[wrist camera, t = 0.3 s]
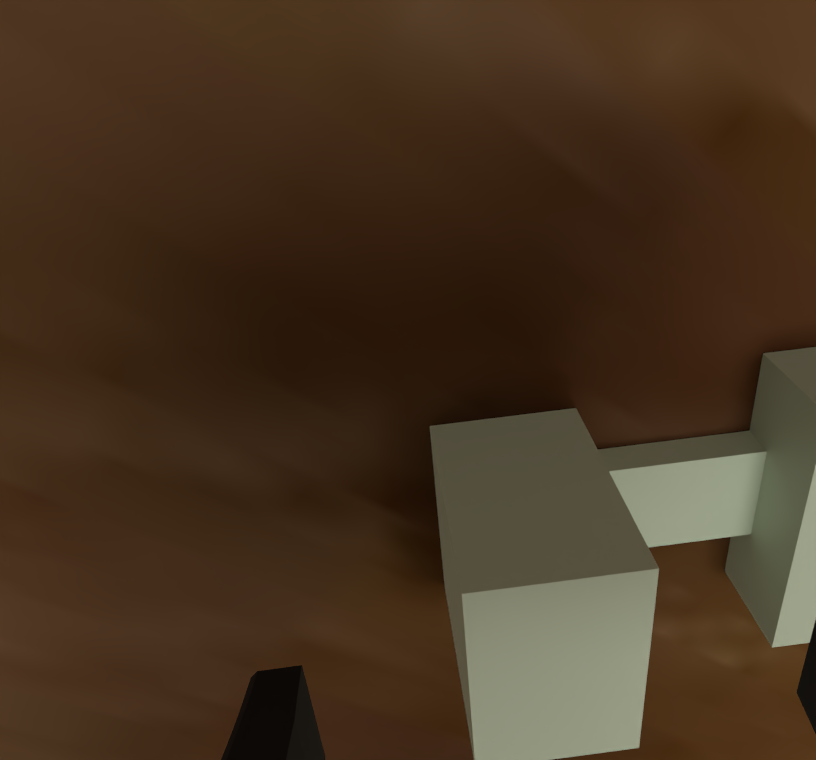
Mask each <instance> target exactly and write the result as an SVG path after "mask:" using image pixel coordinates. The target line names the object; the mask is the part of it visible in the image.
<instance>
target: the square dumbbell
mask: <svg viewBox="0 0 816 760" xmlns="http://www.w3.org/2000/svg"><path fill="white" fill-rule="evenodd" d="M430 437H431V447H432V458H433V469H434V479H435V490H436V501H437V511H438V522H439V532H440V543H441V554H442V564H443V575H444V585H445V591H446V597H447V603H448V609H449V615H450V621H451V627H452V633H453V639H454V645H455V651H456V657H457V663H458V669H459V675H460V681H461V687H462V692H463V698H464V704H465V710H466V716H467V722H468V728H469V734H470V740H471V746H472V752H473V758H474V760H552V759H559V758H567V757H574V756H581V755H589V754H596V753H604V752H611V751H618V750H626V749H633V748H639V742H640V733H641V725H642V716H643V707H644V698H645V689H646V680H647V671H648V663H649V654H650V645H651V636H652V627H653V618H654V609H655V600H656V592H657V583H658V574H659V567H658V565H657V564H656V562H655V560H654V558H653V556H652V554H651V552H650V550H649V548H648V547H655V546H663V545H671V544H679V543H686V542H694V541H702V540H710V539H717V538H725V537H731V538H730V544H729V549H728V555H727V561H726V566H725V572H726V574H727V576H728V577H729V579H730V581H731V582H732V584H733V585H734V587H735V589H736V590H737V592H738V593H739V595H740V597H741V598H742V600H743V601H744V603H745V605H746V606H747V608H748V610H749V611H750V613H751V614H752V616H753V618H754V619H755V621H756V622H757V624H758V626H759V627H760V629H761V631H762V632H763V634H764V635H765V637H766V639H767V640H768V642H769V643H770V645H771V647H779V646H787V645H794V644H802V643H809V642H810V639H811V635H812V631H813V628H814V624H815V620H816V347H811V348H803V349H794V350H786V351H778V352H770V353H763V356H762V362H761V367H760V373H759V379H758V384H757V390H756V396H755V402H754V407H753V413H752V419H751V424H750V430H749V431H742V432H734V433H726V434H718V435H710V436H702V437H694V438H686V439H678V440H670V441H662V442H654V443H646V444H638V445H630V446H622V447H614V448H606V449H597V447H596V445H595V444H594V442H593V440H592V438H591V436H590V434H589V432H588V430H587V428H586V426H585V424H584V422H583V420H582V418H581V416H580V415H579V413H578V411H577V409H576V408H571V409H563V410H555V411H547V412H539V413H531V414H523V415H515V416H507V417H499V418H490V419H482V420H474V421H466V422H458V423H450V424H442V425H434V426H430Z"/></svg>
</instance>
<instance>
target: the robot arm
mask: <svg viewBox="0 0 816 760" xmlns="http://www.w3.org/2000/svg"><path fill="white" fill-rule="evenodd" d="M797 694H798V696H799V698H800V701H801V703H802V705H803V707H804V709H805V711H806V714H807V716H808V718H809V720H810V722H811V725H812V727H813V729H814V731H815V733H816V620H815V624H814V628H813V631H812V635H811V639H810V643H809V647H808V651H807V655H806V658H805V662H804V666H803V670H802V674H801V678H800V682H799V685H798V689H797ZM221 760H325V754H324V751H323V747H322V743H321V739H320V735H319V731H318V727H317V723H316V719H315V715H314V711H313V707H312V703H311V699H310V695H309V691H308V687H307V684H306V680H305V676H304V672H303V668H302V665H301V666H293V667H286V668H279V669H271V670H264V671H257V672H256V673H255V674H254V675H253V676H252V677H251V679H250V682H249V685H248V688H247V691H246V694H245V698H244V700H243V703H242V706H241V709H240V712H239V715H238V718H237V720H236V723H235V726H234V728H233V731H232V734H231V736H230V739H229V742H228V744H227V747H226V749H225V752H224V754H223V757H222V759H221Z"/></svg>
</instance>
